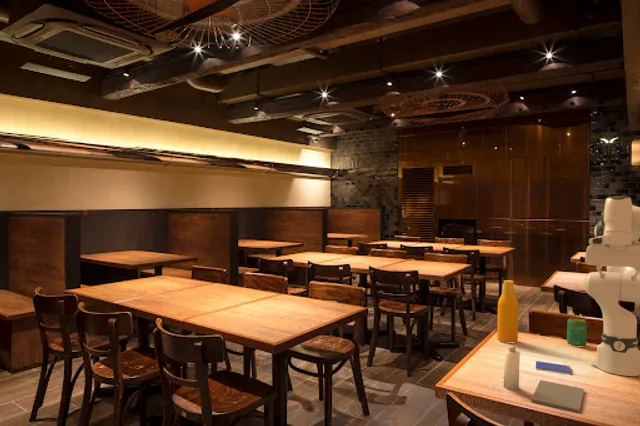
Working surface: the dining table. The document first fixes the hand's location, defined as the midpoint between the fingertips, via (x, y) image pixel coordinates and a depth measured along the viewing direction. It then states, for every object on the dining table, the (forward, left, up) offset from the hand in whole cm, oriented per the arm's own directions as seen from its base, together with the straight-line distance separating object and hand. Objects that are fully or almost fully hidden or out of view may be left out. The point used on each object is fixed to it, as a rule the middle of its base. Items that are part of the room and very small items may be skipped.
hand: (617, 279), depth 162 cm
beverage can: (-53, -16, -40) cm, 68 cm away
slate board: (+18, -16, -40) cm, 46 cm away
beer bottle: (-40, -44, -40) cm, 71 cm away
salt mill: (+19, -31, -40) cm, 54 cm away
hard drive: (-11, -21, -40) cm, 47 cm away
